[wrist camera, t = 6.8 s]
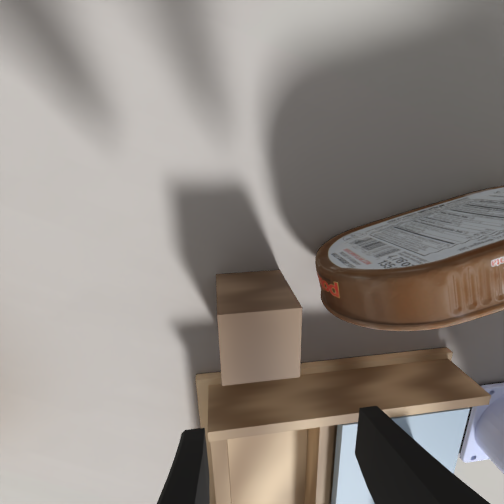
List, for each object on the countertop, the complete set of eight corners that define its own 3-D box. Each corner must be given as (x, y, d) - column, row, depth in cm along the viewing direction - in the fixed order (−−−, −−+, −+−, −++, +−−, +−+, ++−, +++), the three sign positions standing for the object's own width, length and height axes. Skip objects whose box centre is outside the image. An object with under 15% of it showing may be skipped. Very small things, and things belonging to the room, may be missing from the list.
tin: (303, 281, 19) (367, 369, 11) (292, 236, 18) (354, 298, 10) (518, 214, 20) (726, 253, 12) (520, 166, 19) (748, 174, 11)
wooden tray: (446, 347, 22) (497, 388, 18) (406, 542, 29) (436, 602, 25) (196, 374, 20) (192, 427, 16) (217, 576, 27) (217, 648, 23)
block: (279, 269, 19) (302, 307, 14) (279, 324, 20) (300, 377, 15) (215, 274, 18) (217, 315, 14) (219, 330, 20) (221, 385, 15)
